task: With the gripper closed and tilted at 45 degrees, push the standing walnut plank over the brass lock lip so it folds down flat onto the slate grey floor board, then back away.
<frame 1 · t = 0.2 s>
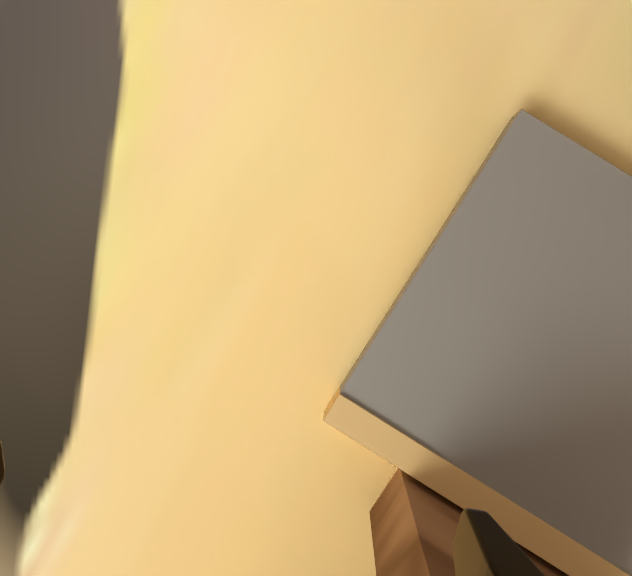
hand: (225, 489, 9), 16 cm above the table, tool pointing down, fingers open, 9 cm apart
slate floor board: (596, 381, 24), on the table
walnut plank: (479, 549, 24), on the table
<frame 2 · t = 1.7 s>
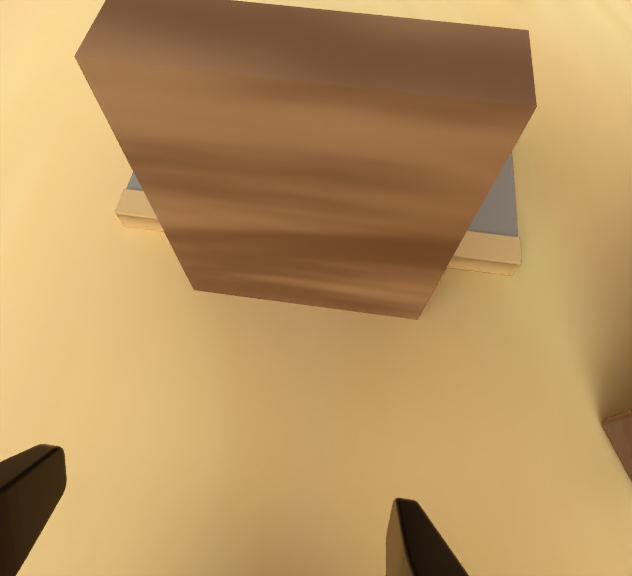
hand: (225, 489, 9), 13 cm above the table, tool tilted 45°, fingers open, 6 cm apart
slate floor board: (332, 132, 30), on the table
walnut plank: (308, 279, 25), on the table
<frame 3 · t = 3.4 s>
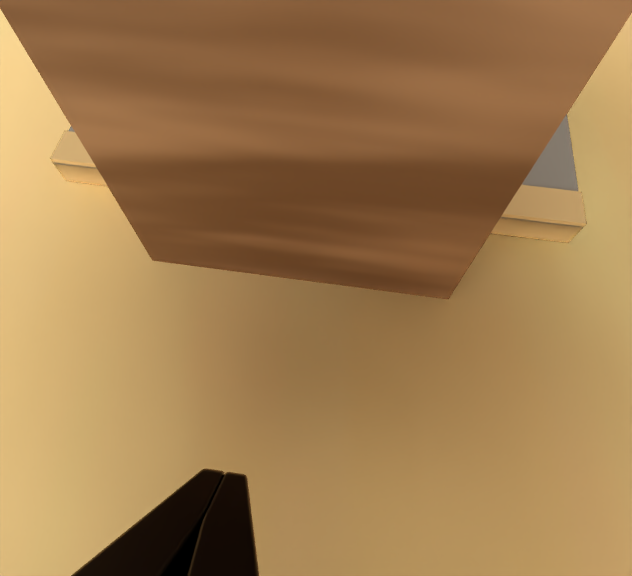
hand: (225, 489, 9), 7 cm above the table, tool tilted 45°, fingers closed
slate floor board: (335, 71, 24), on the table
walnut plank: (303, 248, 19), on the table
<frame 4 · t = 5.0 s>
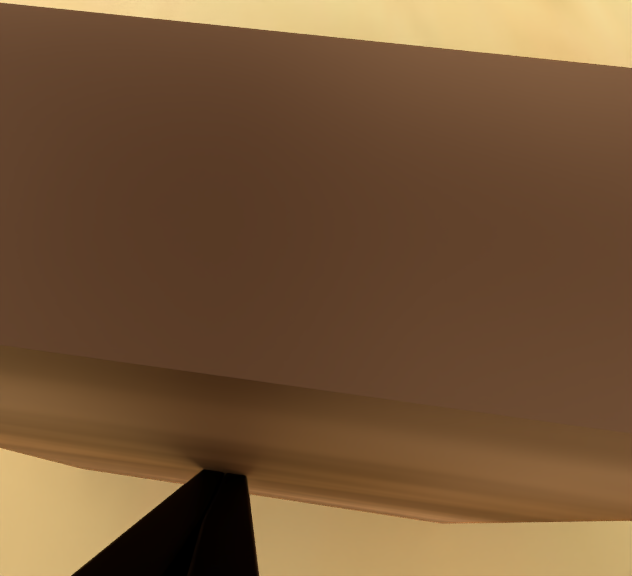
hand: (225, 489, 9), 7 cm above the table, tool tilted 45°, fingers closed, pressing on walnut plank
walnut plank: (267, 448, 16), on the table, touching gripper
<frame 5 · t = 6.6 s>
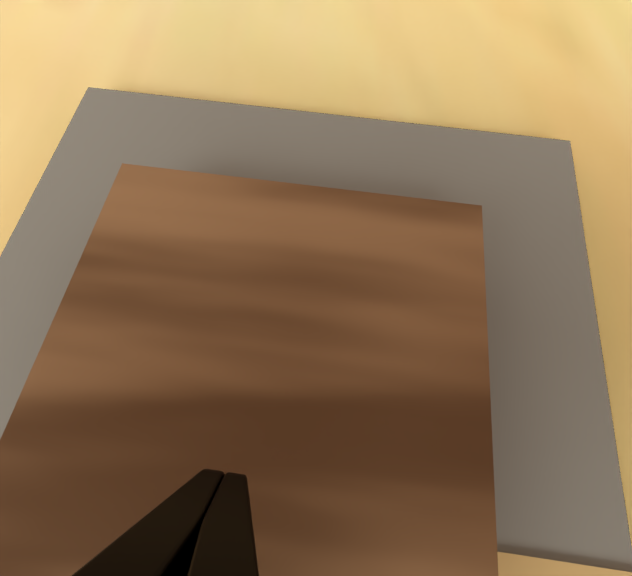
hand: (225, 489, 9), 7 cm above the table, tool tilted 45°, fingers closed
slate floor board: (292, 303, 18), on the table
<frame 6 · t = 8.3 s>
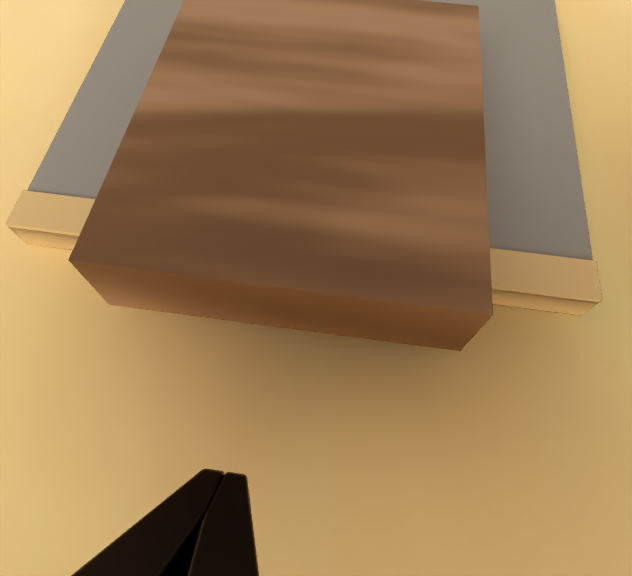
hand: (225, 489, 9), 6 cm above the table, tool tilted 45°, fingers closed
slate floor board: (324, 112, 22), on the table
walnut plank: (279, 308, 14), point 3 cm above the table, tilted 91°, touching slate floor board
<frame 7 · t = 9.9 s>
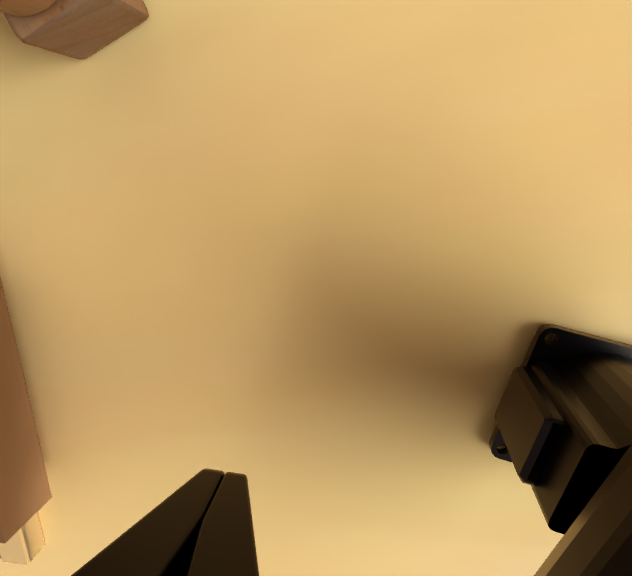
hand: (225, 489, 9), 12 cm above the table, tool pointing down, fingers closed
walnut plank: (2, 411, 21), point 3 cm above the table, tilted 91°, touching slate floor board
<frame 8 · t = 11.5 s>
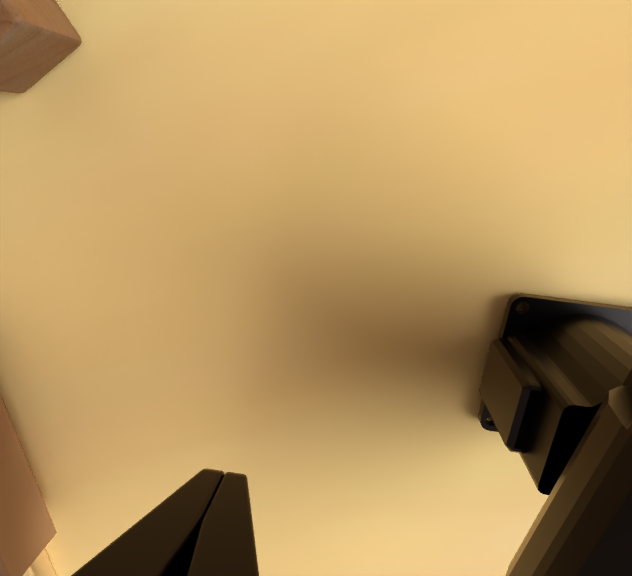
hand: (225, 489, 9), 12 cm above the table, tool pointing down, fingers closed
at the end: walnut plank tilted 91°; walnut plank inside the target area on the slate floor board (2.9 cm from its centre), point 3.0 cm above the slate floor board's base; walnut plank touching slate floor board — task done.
